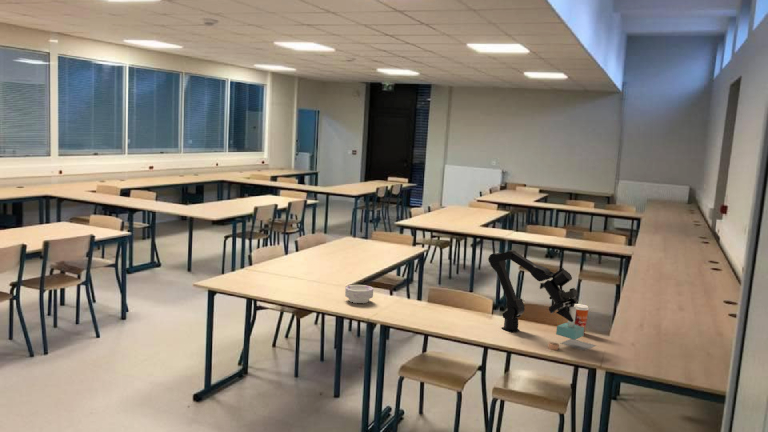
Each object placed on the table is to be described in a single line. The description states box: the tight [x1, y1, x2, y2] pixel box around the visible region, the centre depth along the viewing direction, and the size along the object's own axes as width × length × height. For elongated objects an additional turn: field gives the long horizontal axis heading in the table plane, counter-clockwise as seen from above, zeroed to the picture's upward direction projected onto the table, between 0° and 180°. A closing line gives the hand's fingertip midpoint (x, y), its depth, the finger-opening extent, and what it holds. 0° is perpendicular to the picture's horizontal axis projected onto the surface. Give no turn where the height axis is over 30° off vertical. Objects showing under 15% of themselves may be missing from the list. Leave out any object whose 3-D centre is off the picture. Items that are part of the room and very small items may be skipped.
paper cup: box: [574, 303, 590, 333], centre depth 303 cm, size 8×8×14 cm
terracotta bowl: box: [547, 341, 560, 351], centre depth 276 cm, size 4×4×3 cm
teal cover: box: [555, 307, 585, 340], centre depth 280 cm, size 9×9×13 cm
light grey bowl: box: [344, 284, 374, 304], centre depth 335 cm, size 15×15×8 cm
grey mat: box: [559, 338, 597, 351], centre depth 285 cm, size 12×12×1 cm
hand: (574, 321), depth 279 cm, fingers closed on teal cover, 3 cm apart
